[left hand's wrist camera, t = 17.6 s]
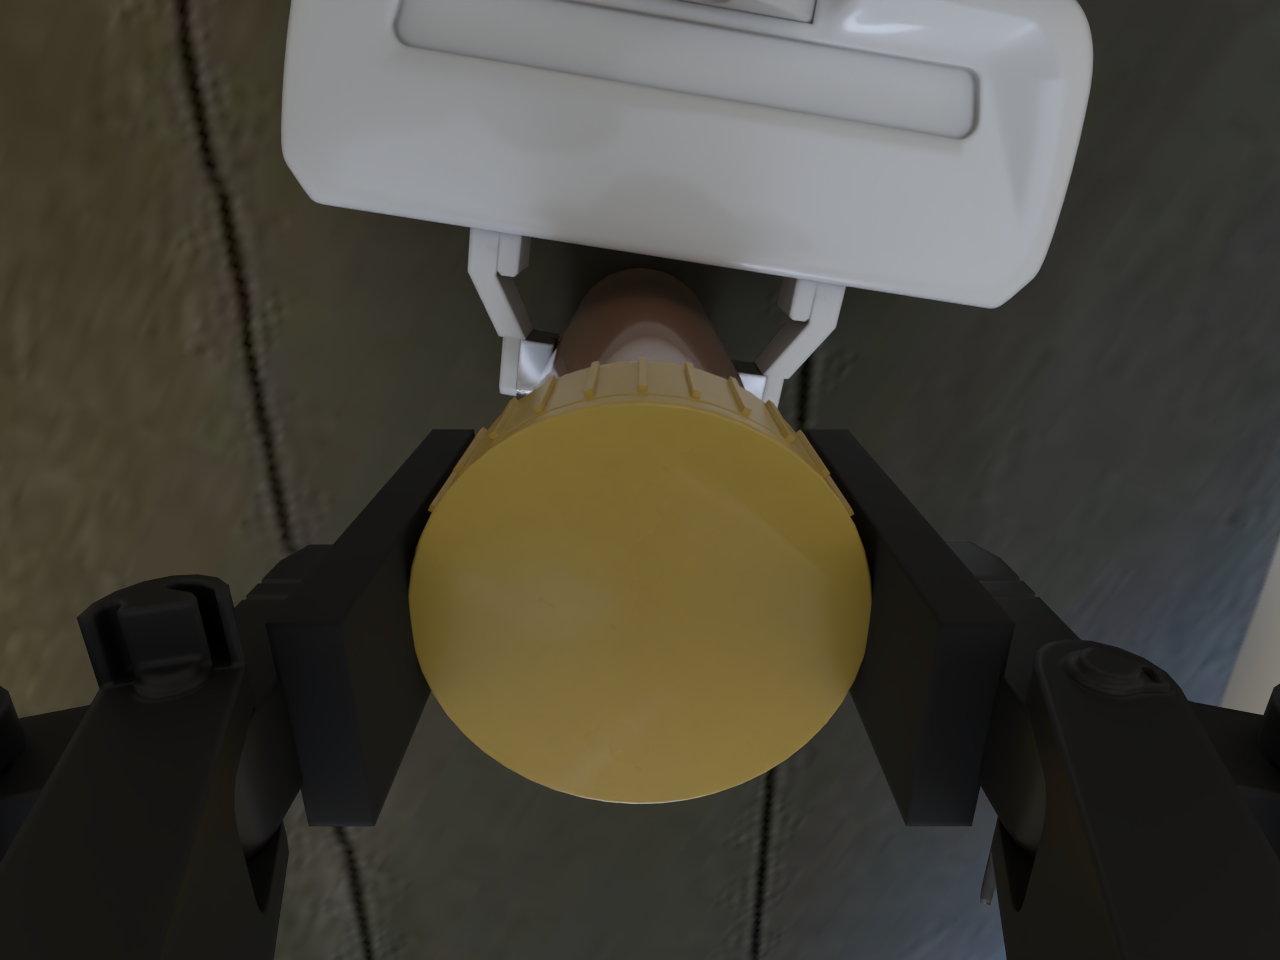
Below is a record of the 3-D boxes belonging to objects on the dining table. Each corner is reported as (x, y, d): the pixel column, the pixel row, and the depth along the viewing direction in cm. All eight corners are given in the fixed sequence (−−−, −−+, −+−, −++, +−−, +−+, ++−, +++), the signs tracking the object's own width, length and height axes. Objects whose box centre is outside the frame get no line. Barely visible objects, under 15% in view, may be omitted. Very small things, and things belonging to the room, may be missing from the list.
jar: (550, 374, 29) (400, 683, 11) (602, 244, 27) (527, 350, 9) (674, 427, 30) (728, 796, 12) (733, 303, 28) (904, 510, 10)
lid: (696, 761, 14) (707, 868, 11) (379, 604, 12) (325, 691, 10) (916, 490, 12) (979, 557, 9) (566, 271, 10) (546, 292, 8)
